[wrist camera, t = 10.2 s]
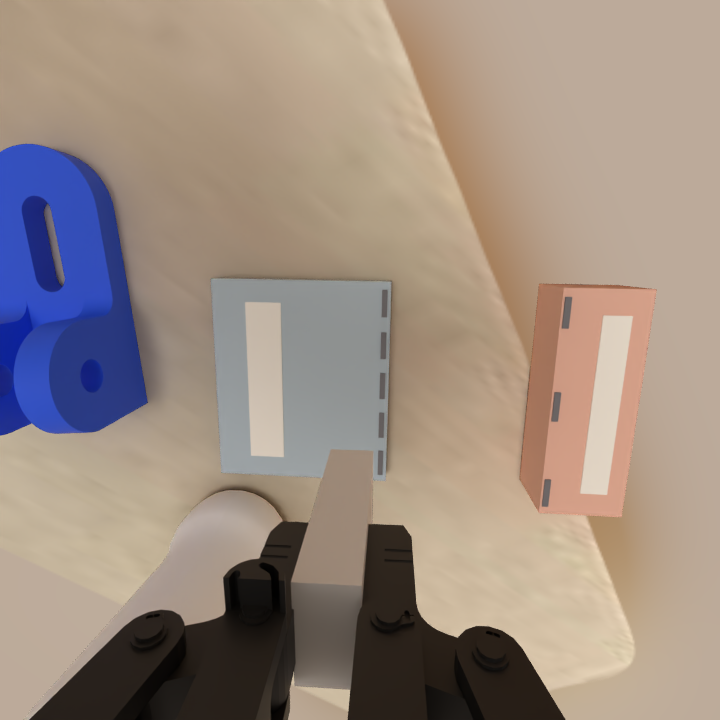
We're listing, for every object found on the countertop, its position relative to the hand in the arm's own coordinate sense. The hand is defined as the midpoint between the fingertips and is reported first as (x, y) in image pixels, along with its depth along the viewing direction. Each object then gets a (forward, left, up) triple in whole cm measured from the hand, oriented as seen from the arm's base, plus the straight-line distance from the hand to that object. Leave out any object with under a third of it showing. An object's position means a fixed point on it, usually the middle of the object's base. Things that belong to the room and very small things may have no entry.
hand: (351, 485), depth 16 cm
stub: (+1, +13, -16) cm, 21 cm away
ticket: (+1, -5, -17) cm, 17 cm away
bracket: (-6, -22, -17) cm, 28 cm away
